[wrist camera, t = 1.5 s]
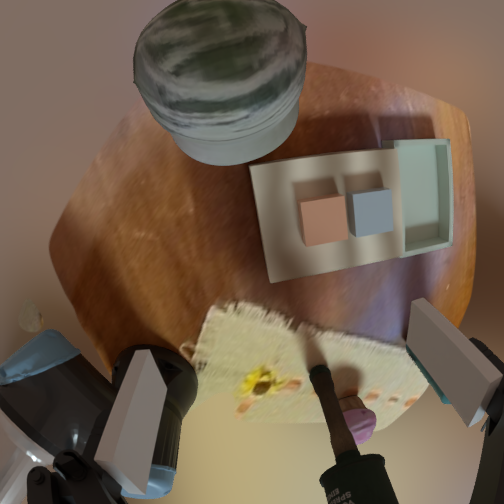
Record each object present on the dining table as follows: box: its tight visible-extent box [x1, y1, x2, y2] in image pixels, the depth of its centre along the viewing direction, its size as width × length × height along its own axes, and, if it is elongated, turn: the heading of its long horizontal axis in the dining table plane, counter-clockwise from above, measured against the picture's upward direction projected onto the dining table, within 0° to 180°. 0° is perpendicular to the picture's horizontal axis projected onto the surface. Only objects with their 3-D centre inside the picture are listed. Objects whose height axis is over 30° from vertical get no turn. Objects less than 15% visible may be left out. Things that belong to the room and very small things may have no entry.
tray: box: [382, 139, 453, 258], centre depth 37 cm, size 10×16×4 cm, turn 10°
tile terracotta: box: [297, 193, 348, 247], centre depth 33 cm, size 5×5×2 cm
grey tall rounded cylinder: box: [133, 0, 307, 166], centre depth 21 cm, size 10×10×28 cm
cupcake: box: [338, 396, 376, 445], centre depth 47 cm, size 9×9×10 cm
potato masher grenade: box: [309, 365, 399, 504], centre depth 34 cm, size 8×9×30 cm
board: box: [248, 148, 403, 283], centre depth 36 cm, size 18×14×5 cm
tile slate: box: [347, 187, 393, 238], centre depth 33 cm, size 5×5×2 cm
